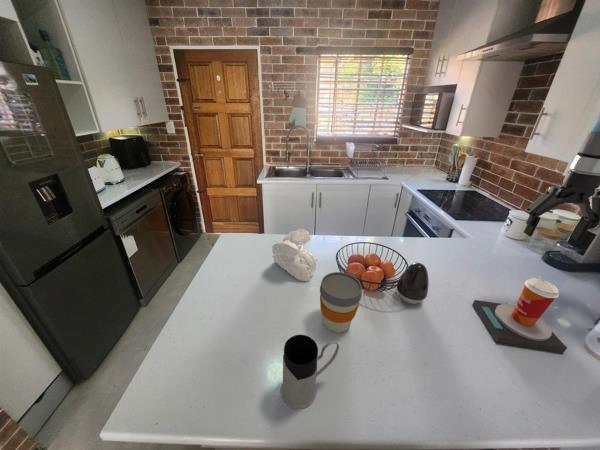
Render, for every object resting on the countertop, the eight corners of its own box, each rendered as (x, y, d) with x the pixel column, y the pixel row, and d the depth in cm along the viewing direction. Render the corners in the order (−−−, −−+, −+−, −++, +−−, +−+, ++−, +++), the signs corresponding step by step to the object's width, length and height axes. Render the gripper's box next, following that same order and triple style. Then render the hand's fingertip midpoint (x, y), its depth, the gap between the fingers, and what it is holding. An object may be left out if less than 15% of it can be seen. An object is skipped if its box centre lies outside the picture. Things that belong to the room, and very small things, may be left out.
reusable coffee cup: (333, 343, 72) (338, 305, 66) (309, 315, 82) (312, 279, 75) (364, 326, 79) (372, 289, 72) (338, 301, 88) (343, 267, 81)
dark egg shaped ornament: (388, 292, 93) (396, 259, 86) (409, 285, 97) (418, 253, 90) (408, 311, 85) (419, 276, 78) (430, 303, 89) (443, 269, 82)
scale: (527, 312, 86) (532, 305, 85) (562, 353, 72) (569, 345, 71) (472, 305, 89) (475, 297, 87) (495, 343, 75) (500, 335, 73)
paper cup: (507, 307, 84) (525, 273, 77) (536, 317, 80) (558, 283, 73) (507, 321, 78) (527, 287, 72) (539, 334, 74) (563, 298, 68)
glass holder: (276, 379, 63) (275, 338, 56) (326, 360, 68) (331, 321, 61) (287, 415, 56) (288, 374, 49) (342, 392, 60) (350, 351, 54)
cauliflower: (320, 272, 88) (278, 235, 89) (291, 300, 98) (254, 267, 100) (334, 249, 104) (299, 218, 105) (308, 275, 114) (277, 247, 116)
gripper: (624, 172, 73) (584, 235, 82) (530, 166, 76) (502, 227, 85) (652, 179, 66) (605, 247, 75) (547, 172, 69) (515, 237, 79)
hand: (550, 236), depth 80 cm, fingers open, 13 cm apart
